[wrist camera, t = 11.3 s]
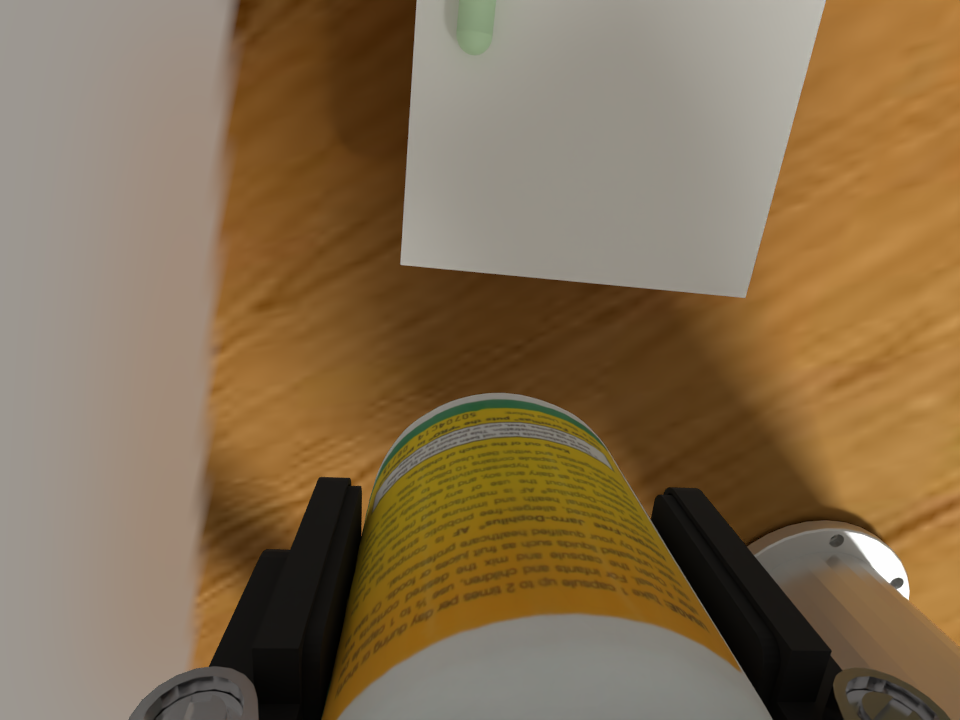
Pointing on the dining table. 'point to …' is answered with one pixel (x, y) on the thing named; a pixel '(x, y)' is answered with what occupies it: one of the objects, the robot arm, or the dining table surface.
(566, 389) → the dining table surface
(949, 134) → the dining table surface
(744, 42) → the level board
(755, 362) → the dining table surface
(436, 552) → the supplement bottle
